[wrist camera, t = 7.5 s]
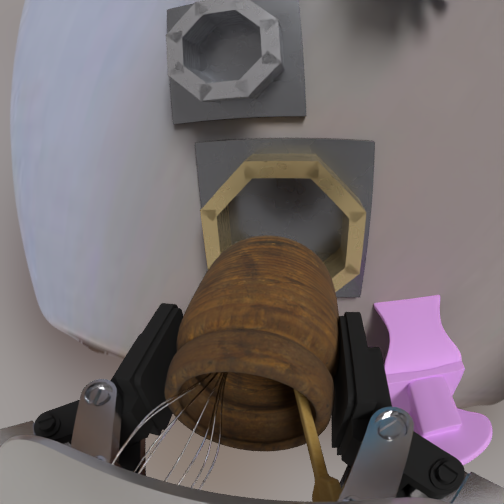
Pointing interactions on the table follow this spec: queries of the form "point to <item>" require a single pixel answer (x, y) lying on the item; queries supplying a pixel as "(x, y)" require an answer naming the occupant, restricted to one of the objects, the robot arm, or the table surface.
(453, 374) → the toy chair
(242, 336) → the utensil holder
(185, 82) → the narrow socket
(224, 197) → the wide socket
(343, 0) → the table surface
